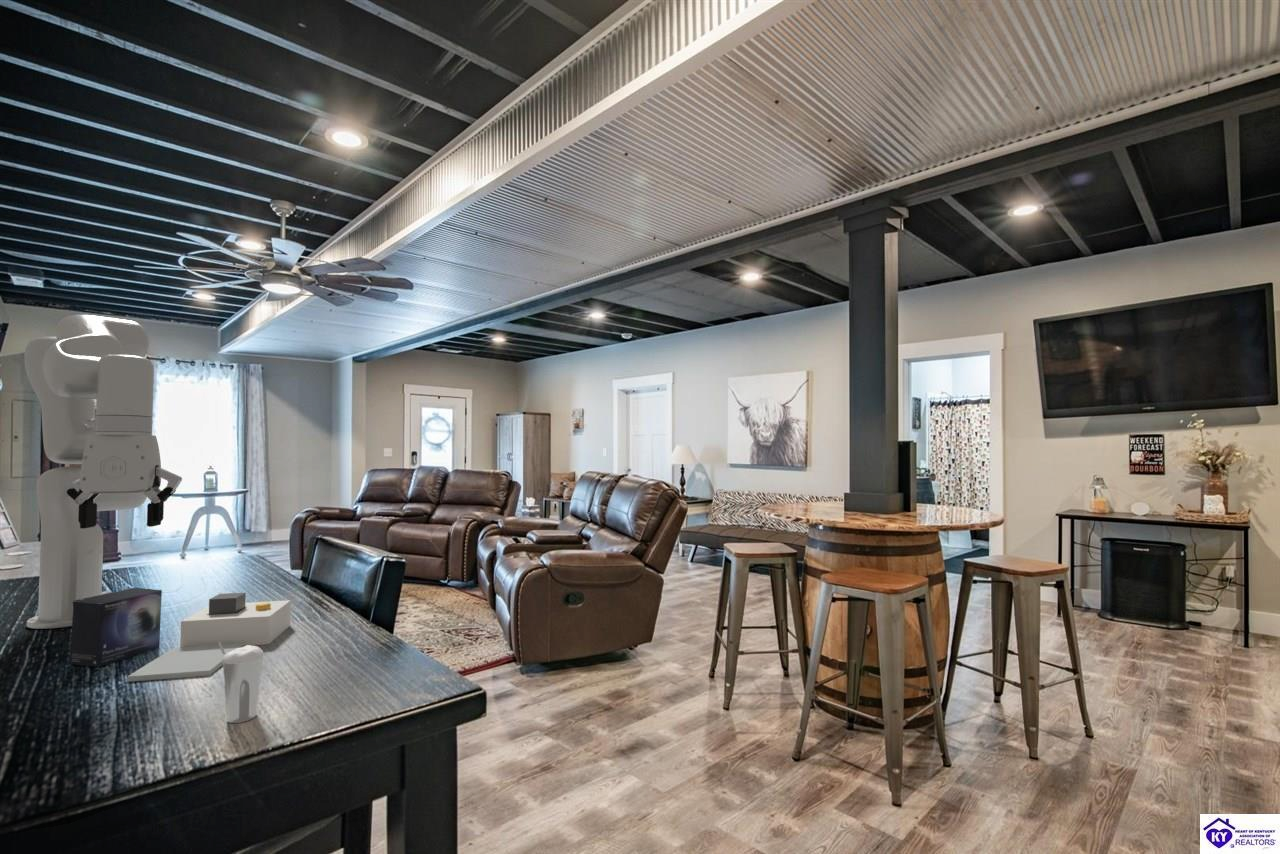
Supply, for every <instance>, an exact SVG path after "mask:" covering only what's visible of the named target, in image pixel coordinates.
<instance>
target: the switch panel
mask: <svg viewBox="0 0 1280 854" xmlns="http://www.w3.org/2000/svg"><path fill="white" fill-rule="evenodd" d="M291 605H292V600H290V599H289V600H276V601H275V600H272V601H271V600H269V601H254V602H253V601H252V602H245V609H243V610H242V611H240V612H239V613H236V614H218V615H209V605H207V606H206V607H204V608H202V609H201V610H199V611H197V612H195V613H193V614H191V615H190V616H188V617H186V618H183V620H181V621H180V642H179V643H180V644H179V647H188V646H204V645H219V644H218V642H221V644H235V643H245V646H246V645H251V646H259V645H260V646H262V645H269V644H271V643H272V642H274V640H276V639H277V638H278V637H279V636H280V635H281V634H282V633H284V632H285V631H286V630H287V629H288V628H289V627H290V626H291V613H292V612H291V610H292V609H291V607H292V606H291Z"/></svg>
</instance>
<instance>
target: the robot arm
mask: <svg viewBox="0 0 1280 854" xmlns="http://www.w3.org/2000/svg"><path fill="white" fill-rule="evenodd" d="M54 332H55V334H54V335H55V336H40V337H36V338H34V339H31V340H29V342H28V343H27V344H26V346H25V349H24V356H23V357H24V367H25V372H26V375H27V378H28V382H29V384H30V385H31V387H32V389H33V391H34V393H35V395H36V397H37V398H38V401H39V403H40V409H41V427H42V441H43V442H42V443H43V449H44V454H45V455H46V458H47V459H48V460H49V461H51V462H54V463H56V464H64V465H69V466H61V467H56V468H55V467H54V468H52V469H49V470H46V471H44V472H43V473H42V474H41V475H39V477H38V478H37V481H36V487H35V488H36V490H35V491H36V492H35V493H36V497H37V498H36V499H37V503H38V509H39V517H40V545H39V546H40V551H39V552H40V554H39V574H38V575H39V576H38V578H39V581H38V605H37V606H38V609H37V612H38V613H37V614H38V615H35V616H33V617H31V618H29V619H27V620H26V627H27V628H29V629H34V630H35V629H36V630H38V629H39V630H40V629H41V630H42V629H44V630H45V629H46V630H47V629H60V628H68V627H72V618H73V601H74V600H79V599H84V598H88V597H93V596H98V595H103V594H107V593H110V592H109V591H103V590H102V589H103V561H104V560H103V559H104V558H103V557H104V532H103V529H102V528H101V526H100V525H99V524H98V523H97V517H98V512H107V511H122V510H130V509H131V510H132V509H137V508H140V506H143V504H144V503H145V502H146V500H147V498H148V500H150V503H147V507H146V510H147V511H146V526H147V527H157V526H160V525H161V524H162V521H163V520H164V511H165V510H164V508H165V507H164V506H165V502H167V501H168V499H169V498H170V497H171V496H173V494H175V493H176V490H177V488H179V485H180V484H181V482H182V481H183V478H182V476H180V475H177V474H175V473H173V472H171V471H168V470H167V469H164V468H162V464H161V463H162V462H161V455H160V453H161V452H160V448H159V447H160V446H159V441H158V438H157V435H155V434H154V435H153V410H154V383H155V381H154V380H155V379H154V378H155V376H154V375H155V374H154V373H155V368H154V364H153V362H152V360H150V359H148V358H146V356H147V353H148V351H149V348H150V347H149V346H150V345H149V344H150V343H149V342H150V340H149V336H148V332H147V331H146V329H145V328H144V326H143V325H141V324H140V323H138V322H136V321H133V320H128V319H121V318H115V317H106V316H98V315H89V314H74V315H73V314H72V315H68V316H66V317H64V318H63V319H61V320H59V322H58V323H57V324H56V327H55V331H54ZM94 400H95V401H94ZM95 402H96V404H95ZM95 405H96V406H95ZM70 465H71V466H70ZM72 465H74V466H72ZM77 465H78V466H77ZM162 479H163V480H166V481H167V485H166V486H165V487H164V488H163V489H162V490H161V489H160V487H161V484H162Z"/></svg>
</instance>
